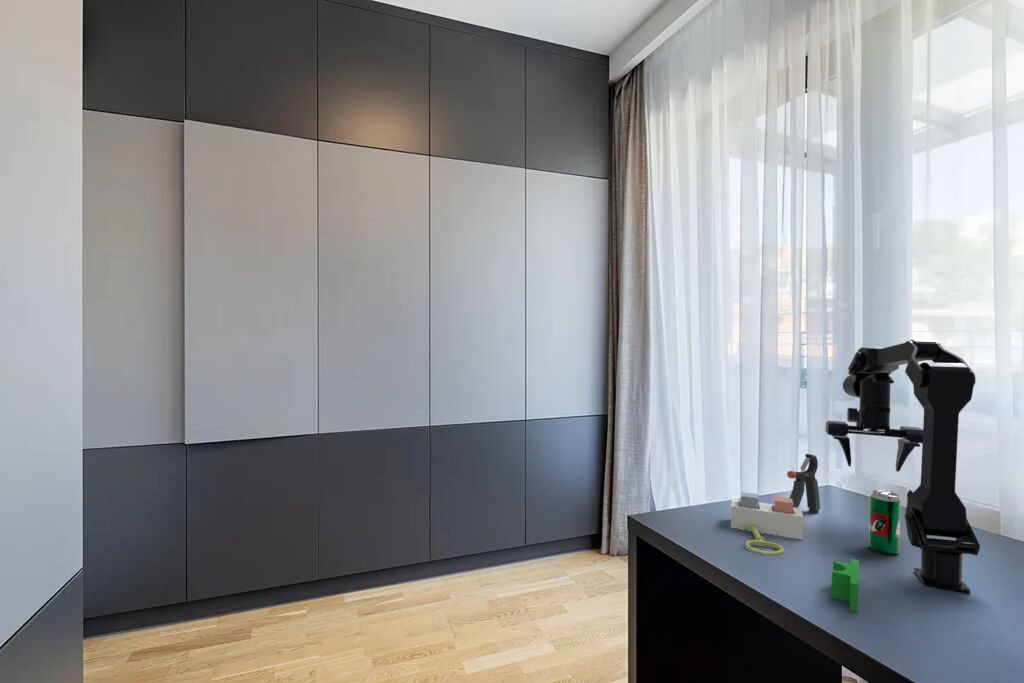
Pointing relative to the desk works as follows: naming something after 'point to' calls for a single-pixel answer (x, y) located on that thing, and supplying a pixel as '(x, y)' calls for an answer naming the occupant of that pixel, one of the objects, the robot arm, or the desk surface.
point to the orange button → (783, 505)
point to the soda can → (884, 522)
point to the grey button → (749, 500)
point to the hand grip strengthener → (806, 484)
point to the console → (768, 519)
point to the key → (762, 542)
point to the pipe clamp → (846, 582)
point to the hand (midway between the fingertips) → (873, 468)
